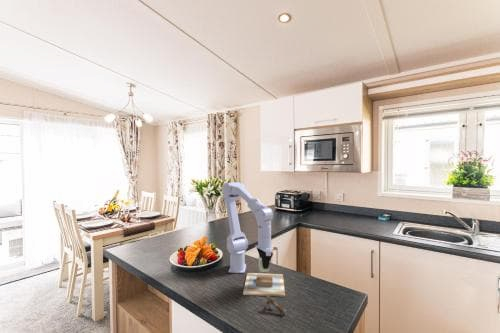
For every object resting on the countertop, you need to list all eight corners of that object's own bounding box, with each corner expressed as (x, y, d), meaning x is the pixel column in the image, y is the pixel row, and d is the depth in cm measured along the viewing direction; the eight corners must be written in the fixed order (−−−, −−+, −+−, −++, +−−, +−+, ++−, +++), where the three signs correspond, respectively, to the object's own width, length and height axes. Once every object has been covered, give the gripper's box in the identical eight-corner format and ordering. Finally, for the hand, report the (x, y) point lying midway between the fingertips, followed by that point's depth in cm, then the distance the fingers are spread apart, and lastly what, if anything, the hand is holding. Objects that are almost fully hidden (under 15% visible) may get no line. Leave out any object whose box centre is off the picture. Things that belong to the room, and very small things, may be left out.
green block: (258, 268, 108) (258, 257, 108) (267, 267, 108) (267, 256, 108) (260, 272, 104) (260, 260, 104) (269, 271, 104) (269, 259, 104)
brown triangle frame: (265, 302, 91) (269, 293, 90) (281, 319, 86) (286, 309, 85) (262, 305, 89) (266, 295, 88) (279, 321, 85) (283, 312, 84)
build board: (247, 274, 116) (247, 268, 116) (282, 276, 114) (282, 269, 114) (243, 294, 98) (243, 287, 98) (285, 296, 96) (285, 289, 96)
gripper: (252, 231, 112) (252, 260, 112) (259, 241, 98) (259, 274, 98) (267, 230, 114) (267, 259, 114) (275, 240, 99) (275, 273, 99)
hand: (264, 266), depth 106 cm, fingers closed on green block, 4 cm apart
